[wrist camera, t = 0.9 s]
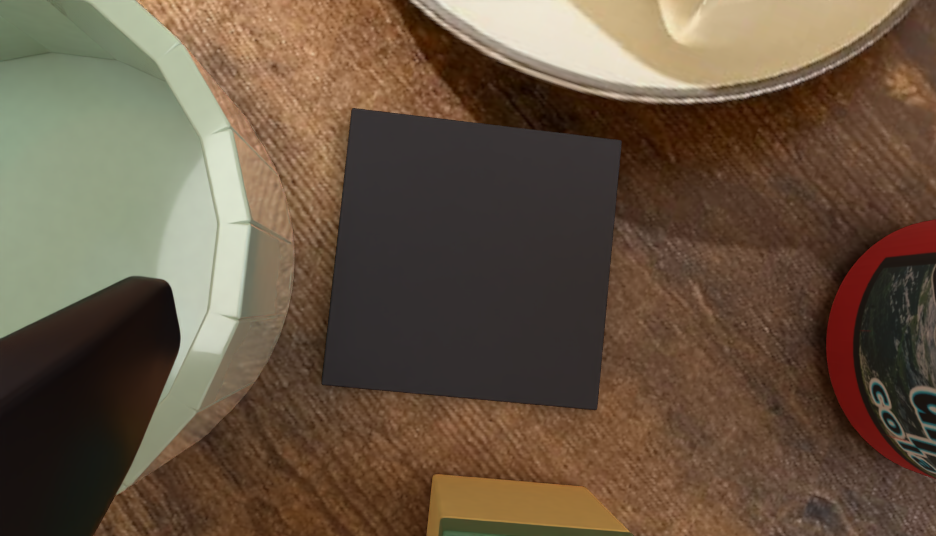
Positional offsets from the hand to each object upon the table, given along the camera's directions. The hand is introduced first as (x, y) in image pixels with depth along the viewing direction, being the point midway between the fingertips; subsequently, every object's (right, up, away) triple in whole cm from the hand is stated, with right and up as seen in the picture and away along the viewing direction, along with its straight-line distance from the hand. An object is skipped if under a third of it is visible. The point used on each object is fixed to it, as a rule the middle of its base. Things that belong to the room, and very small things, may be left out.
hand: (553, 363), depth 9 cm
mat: (-1, +1, +11) cm, 11 cm away
